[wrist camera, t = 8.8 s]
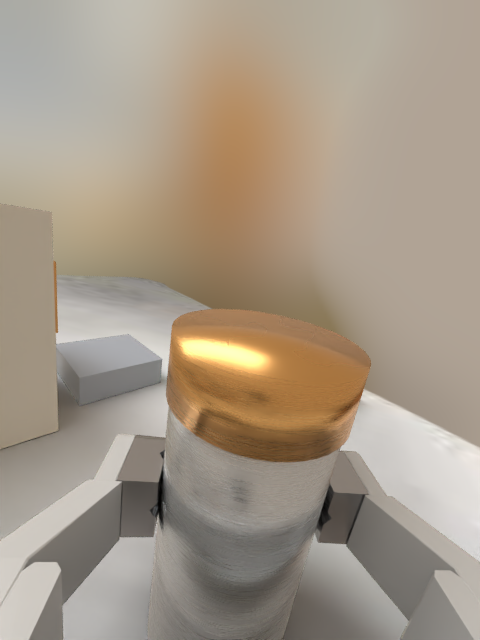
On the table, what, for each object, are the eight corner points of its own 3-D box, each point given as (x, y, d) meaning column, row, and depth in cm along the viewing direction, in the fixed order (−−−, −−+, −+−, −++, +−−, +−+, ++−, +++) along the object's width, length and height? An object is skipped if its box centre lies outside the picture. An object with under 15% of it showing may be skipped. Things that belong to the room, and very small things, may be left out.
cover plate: (79, 410, 18) (79, 377, 17) (55, 372, 22) (54, 344, 21) (159, 386, 22) (162, 359, 22) (127, 358, 26) (128, 334, 25)
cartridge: (209, 802, 6) (308, 416, 3) (117, 607, 9) (133, 316, 6) (308, 614, 9) (394, 351, 7) (218, 517, 12) (255, 305, 10)
